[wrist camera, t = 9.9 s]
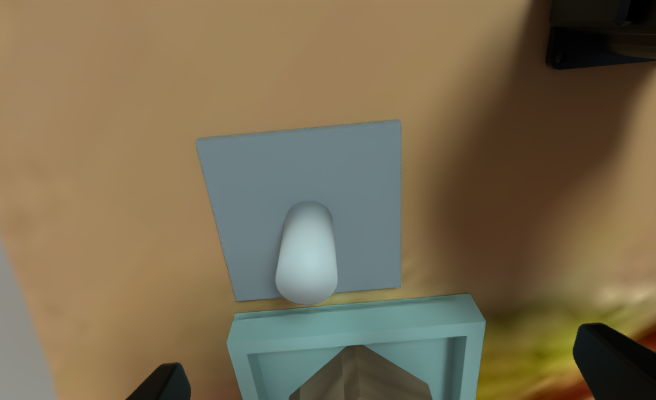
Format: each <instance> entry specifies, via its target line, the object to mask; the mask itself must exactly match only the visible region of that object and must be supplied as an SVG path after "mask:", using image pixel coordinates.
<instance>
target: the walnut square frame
mask: <svg viewBox="0 0 656 400" xmlns="http://www.w3.org/2000/svg"><path fill="white" fill-rule="evenodd" d="M289 400H433V399H432V395H431V392H430V389H429V386H428V384H427V383H426V382H424V381H422V380H421V379H419V378H417V377H416V376H414V375H412V374H411V373H409V372H407V371H406V370H404V369H402V368H401V367H399V366H397V365H396V364H394V363H392V362H391V361H389V360H387V359H386V358H384V357H382V356H381V355H379V354H377V353H376V352H374V351H372V350H371V349H369V348H368V347H366V346H364V345H363V344H362V345H351V346H346V347H345V348H344V349H343V350H341V351H340V352H339V353H338V354H337V355H336V356H334V357H333V358H332V359H331V360H330V361H329V362H328V363H326V364H325V365H324V366H323V367H322V368H321V369H320V370H318V371H317V372H316V373H315V374H314V375H313V376H312V377H310V378H309V379H308V380H307V381H306V382H305V383H304V384H302V385H301V386H300V387H299V388H298V389H297V390H296V391H294V392H293V393H292V394H291V395H290V396H289Z"/></svg>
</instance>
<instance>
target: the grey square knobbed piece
mask: <svg viewBox="0 0 656 400" xmlns="http://www.w3.org/2000/svg"><path fill="white" fill-rule="evenodd" d="M195 143H196V147H197V151H198V155H199V159H200V162H201V166H202V170H203V174H204V178H205V182H206V186H207V190H208V194H209V198H210V201H211V205H212V209H213V213H214V217H215V221H216V225H217V229H218V233H219V237H220V240H221V244H222V248H223V252H224V256H225V260H226V264H227V268H228V272H229V276H230V279H231V283H232V287H233V291H234V295H235V299H236V301H245V300H257V299H268V298H280V297H285V298H286V299H288V300H289V301H291V302H294V303H297V304H302V305H311V304H316V303H320V302H322V301H324V300H326V299H327V298H329V297H330V296H331V295H332V294H333V293H338V292H349V291H361V290H372V289H384V288H395V287H401V122H400V121H399V120H389V121H378V122H367V123H357V124H346V125H335V126H324V127H314V128H303V129H292V130H282V131H271V132H260V133H250V134H239V135H228V136H217V137H207V138H199V139H198V140H196V141H195Z"/></svg>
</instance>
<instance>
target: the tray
mask: <svg viewBox="0 0 656 400" xmlns="http://www.w3.org/2000/svg"><path fill="white" fill-rule="evenodd" d="M485 325H486V321H485V319H484V317H483V315H482V314H481V312H480V310H479V308H478V307H477V305H476V303H475V301H474V300H473V298H472V296H471V294H470V293H469V294H457V295H446V296H434V297H423V298H411V299H399V300H388V301H376V302H365V303H353V304H341V305H330V306H318V307H306V308H295V309H283V310H272V311H260V312H248V313H237V314H235V315H234V319H233V322H232V326H231V329H230V332H229V336H228V339H227V343H226V344H227V347H228V351H229V354H230V358H231V361H232V365H233V368H234V371H235V375H236V378H237V382H238V385H239V389H240V392H241V396H242V399H243V400H289V396H290V395H291V394H292V393H293V392H294V391H296V390H297V389H298V388H299V387H300V386H301V385H302V384H304V383H305V382H306V381H307V380H308V379H309V378H310V377H312V376H313V375H314V374H315V373H316V372H317V371H318V370H320V369H321V368H322V367H323V366H324V365H325V364H326V363H328V362H329V361H330V360H331V359H332V358H333V357H334V356H336V355H337V354H338V353H339V352H340V351H341V350H343V349H344V348H345V347H346V346H351V345H362V344H363V345H364V346H366V347H368V348H369V349H371V350H372V351H374V352H376V353H377V354H379V355H381V356H382V357H384V358H386V359H387V360H389V361H391V362H392V363H394V364H396V365H397V366H399V367H401V368H402V369H404V370H406V371H407V372H409V373H411V374H412V375H414V376H416V377H417V378H419V379H421V380H422V381H424V382H426V383H427V384H428V386H429V389H430V392H431V395H432V399H433V400H475V397H476V390H477V383H478V375H479V368H480V361H481V354H482V346H483V339H484V332H485Z"/></svg>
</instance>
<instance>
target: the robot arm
mask: <svg viewBox="0 0 656 400" xmlns="http://www.w3.org/2000/svg"><path fill="white" fill-rule="evenodd" d="M549 21H550V23H551V29H550V35H549V41H548V47H547V53H546V64H547V66H548V67H549V68H551V69H558V70H563V69H573V68H584V67H594V66H605V65H615V64H626V63H636V62H647V61H656V0H552V6H551V12H550V19H549ZM559 53H562V59H561V60H560V61H559V62H558V63H557V62H556V58H557V55H558V54H559ZM573 357H574V360H575V362H576V364H577V366H578V368H579V370H580V372H581V374H582V376H583V378H584V379H585V381H586V383H587V385H588V387H589V389H590V391H591V393H592V395H593V397H594V399H595V400H656V352H654V351H652V350H651V349H649V348H647V347H645V346H643V345H642V344H640V343H638V342H636V341H634V340H632V339H631V338H629V337H627V336H625V335H623V334H622V333H620V332H618V331H616V330H614V329H613V328H611V327H609V326H607V325H605V324H603V323H587V324H582V325H581V326H579V328H578V332H577V335H576V339H575V343H574V347H573ZM190 397H191V387H190V383H189V381H188V379H187V376H186V374H185V371H184V369H183V367H182V365H181V364H180V363H178V362H175V363H165V364H162V365H160V366H159V367H158V368H156V369H155V370H154V371H153V372H152V374H151V375H150V376H149V377H148V378H147V379H146V380H145V381H144V382H143V383H142V384H141V385H140V386H139V387H138V388H137V389H136V390H135V391H134V392H133V393H132V394H131V395H130V396H129V397H128V398H127V399H126V400H190Z"/></svg>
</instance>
